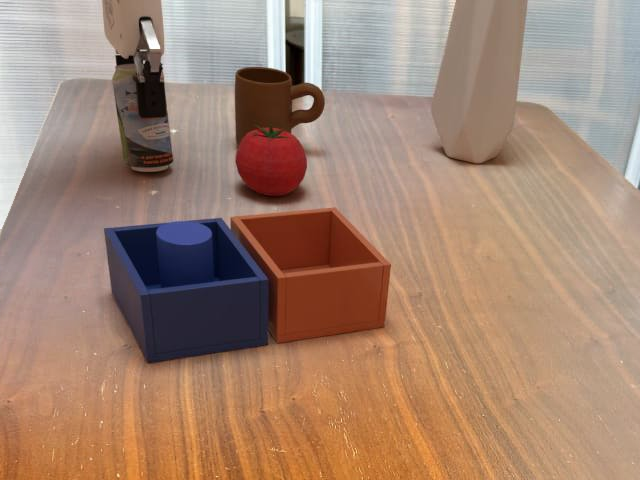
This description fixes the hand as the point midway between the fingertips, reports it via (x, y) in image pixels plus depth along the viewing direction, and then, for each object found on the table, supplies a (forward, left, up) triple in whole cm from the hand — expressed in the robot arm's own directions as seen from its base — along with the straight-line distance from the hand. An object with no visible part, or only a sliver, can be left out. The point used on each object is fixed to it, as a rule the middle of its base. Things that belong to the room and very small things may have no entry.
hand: (142, 103), depth 107 cm
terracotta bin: (+6, -38, -8) cm, 39 cm away
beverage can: (0, 0, -8) cm, 8 cm away
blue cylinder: (-6, -38, -7) cm, 39 cm away
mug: (+19, +3, -8) cm, 21 cm away
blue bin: (-6, -38, -8) cm, 39 cm away
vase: (+46, -3, -8) cm, 47 cm away
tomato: (+13, -10, -8) cm, 18 cm away
